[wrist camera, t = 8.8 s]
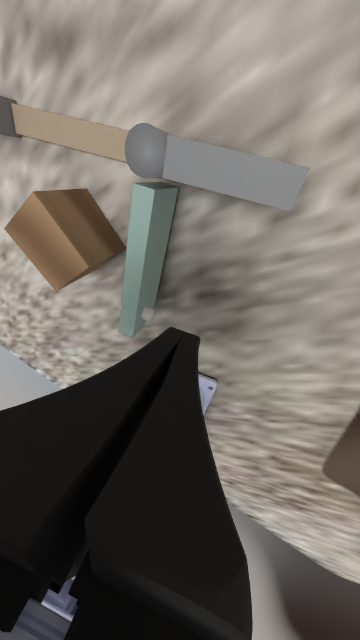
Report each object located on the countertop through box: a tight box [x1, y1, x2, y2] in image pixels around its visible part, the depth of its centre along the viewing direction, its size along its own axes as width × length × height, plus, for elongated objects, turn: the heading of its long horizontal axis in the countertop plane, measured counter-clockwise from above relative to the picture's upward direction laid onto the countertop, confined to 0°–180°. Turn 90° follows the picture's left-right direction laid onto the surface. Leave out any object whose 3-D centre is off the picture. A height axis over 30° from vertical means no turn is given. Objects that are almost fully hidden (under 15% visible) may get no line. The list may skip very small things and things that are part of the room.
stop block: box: [4, 189, 126, 291], centre depth 17 cm, size 4×5×5 cm
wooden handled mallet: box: [0, 96, 310, 212], centre depth 13 cm, size 2×21×5 cm, turn 78°
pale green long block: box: [118, 182, 179, 338], centre depth 16 cm, size 10×3×4 cm, turn 166°
